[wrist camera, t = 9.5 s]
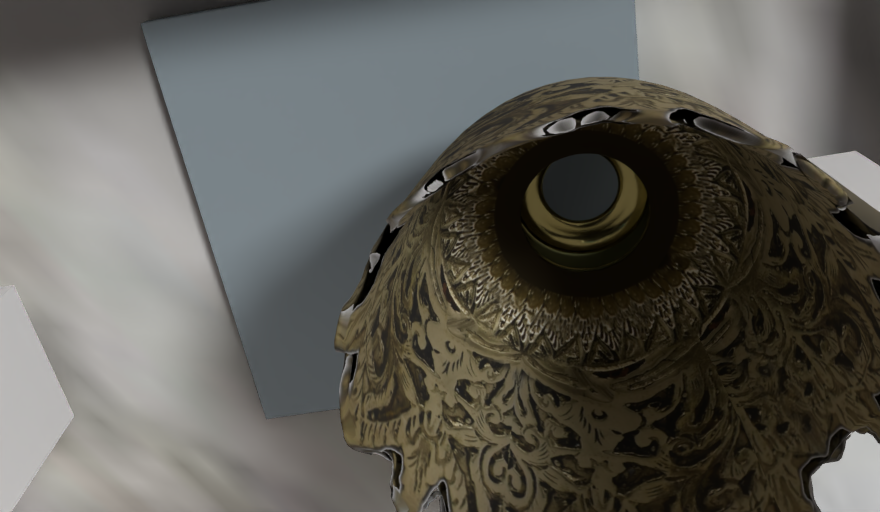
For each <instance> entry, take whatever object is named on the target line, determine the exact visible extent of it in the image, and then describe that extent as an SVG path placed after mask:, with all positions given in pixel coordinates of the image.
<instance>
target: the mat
mask: <svg viewBox="0 0 880 512" xmlns="http://www.w3.org/2000/svg"><path fill="white" fill-rule="evenodd" d="M141 27H142V30H143V34H144V37H145V40H146V43H147V46H148V49H149V52H150V56H151V59H152V62H153V65H154V68H155V71H156V74H157V77H158V81H159V84H160V87H161V90H162V93H163V96H164V99H165V103H166V106H167V109H168V112H169V115H170V118H171V121H172V125H173V128H174V131H175V134H176V137H177V140H178V143H179V147H180V150H181V153H182V156H183V159H184V162H185V165H186V169H187V172H188V175H189V178H190V181H191V184H192V187H193V191H194V194H195V197H196V200H197V203H198V206H199V209H200V213H201V216H202V219H203V222H204V225H205V228H206V231H207V234H208V238H209V241H210V244H211V247H212V250H213V253H214V256H215V260H216V263H217V266H218V269H219V272H220V275H221V278H222V282H223V285H224V288H225V291H226V294H227V297H228V300H229V304H230V307H231V310H232V313H233V316H234V319H235V322H236V326H237V329H238V332H239V335H240V338H241V341H242V344H243V348H244V351H245V354H246V357H247V360H248V363H249V366H250V370H251V373H252V376H253V379H254V382H255V385H256V388H257V391H258V395H259V398H260V401H261V404H262V407H263V410H264V413H265V417H266V419H271V418H278V417H285V416H292V415H299V414H305V413H312V412H319V411H326V410H333V409H340V406H339V387H340V380H341V375H342V370H343V364H344V355H345V353H341V352H336V351H335V349H334V339H335V334H336V329H337V324H338V319H339V315H340V312H341V309H342V307H343V305H344V304H345V303H346V302H347V301H348V299H349V298H350V297H351V296H352V294H353V292H354V291H355V289H356V287H357V285H358V283H359V282H360V280H361V277H362V275H363V272H364V269H365V266H366V264H367V262H368V259H369V255H370V251H371V249H372V247H373V245H374V244H375V242H376V241H377V240H378V238H379V237H380V235H381V234H382V232H383V230H384V229H385V227H386V225H387V224H388V223H387V222H386V219H387V218H388V217H389V215H390V214H391V213H392V212H393V211H394V210H395V209H396V208H397V207H398V206H399V205H400V204H401V203H402V202H403V201H404V200H405V199H406V198H407V197H408V195H409V194H410V193H411V191H412V190H413V189H414V188H415V186H416V185H417V184H418V182H419V181H420V180H421V179H422V177H423V176H424V175H425V174H426V172H427V171H428V170H429V169H430V167H431V166H432V165H433V164H434V162H435V161H436V160H437V159H438V157H439V156H440V155H441V154H442V153H443V152H444V151H445V150H446V149H447V148H448V147H449V146H450V145H451V144H452V143H453V142H454V141H455V140H456V139H457V138H458V137H459V136H460V135H461V134H462V133H463V132H464V131H465V130H466V129H467V128H468V127H470V126H471V125H472V124H473V123H475V122H476V121H477V120H478V119H480V118H481V117H482V116H484V115H485V114H486V113H488V112H490V111H491V110H493V109H494V108H496V107H498V106H499V105H501V104H502V103H504V102H506V101H508V100H510V99H512V98H514V97H516V96H518V95H520V94H522V93H524V92H527V91H530V90H532V89H535V88H538V87H541V86H544V85H547V84H551V83H556V82H560V81H564V80H570V79H578V78H586V77H618V78H628V79H636V80H639V69H638V52H637V34H636V17H635V0H262V1H256V2H251V3H245V4H239V5H234V6H228V7H222V8H217V9H211V10H206V11H200V12H194V13H189V14H183V15H177V16H172V17H166V18H160V19H155V20H149V21H146V22H143V23H141ZM617 190H618V179H617V175H616V172H615V170H614V168H613V166H612V165H611V164H610V163H609V162H608V161H607V160H606V159H605V158H604V157H602V156H601V155H599V154H577V155H572V156H568V157H565V158H562V159H560V160H557V161H555V162H553V163H552V164H551V165H550V167H549V168H548V170H547V172H546V174H545V176H544V180H543V194H544V197H545V200H546V202H547V204H548V205H549V207H550V208H551V209H552V210H553V211H554V212H556V213H557V214H558V215H560V216H562V217H564V218H567V219H571V220H587V219H591V218H594V217H596V216H598V215H600V214H602V213H603V212H604V211H606V210H607V209H608V208H609V207H610V205H611V204H612V203H613V201H614V199H615V197H616V194H617Z"/></svg>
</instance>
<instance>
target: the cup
mask: <svg viewBox="0 0 880 512" xmlns="http://www.w3.org/2000/svg"><path fill="white" fill-rule="evenodd" d="M792 150H793V149H792V148H791V147H789V146H787V145H785V144H783V143H780V142H778V141H776V140H773V139H770V138H768V137H766V136H764V135H762V134H761V133H759V132H758V131H756V130H754V129H753V128H751V127H750V126H748V125H746V124H745V123H743V122H741V121H739V120H738V119H736V118H734V117H732V116H731V115H729V114H727V113H725V112H723V111H722V110H720V109H718V108H716V107H714V106H712V105H710V104H708V103H706V102H704V101H701V100H699V99H697V98H695V97H693V96H691V95H688V94H686V93H684V92H681V91H678V90H675V89H672V88H669V87H666V86H663V85H659V84H654V83H650V82H645V81H640V80H636V79H628V78H618V77H586V78H578V79H570V80H564V81H560V82H556V83H551V84H547V85H544V86H541V87H538V88H535V89H532V90H530V91H527V92H524V93H522V94H520V95H518V96H516V97H514V98H512V99H510V100H508V101H506V102H504V103H502V104H501V105H499V106H498V107H496V108H494V109H493V110H491V111H490V112H488V113H486V114H485V115H484V116H482V117H481V118H480V119H478V120H477V121H476V122H475V123H473V124H472V125H471V126H470V127H468V128H467V129H466V130H465V131H464V132H463V133H462V134H461V135H460V136H459V137H458V138H457V139H456V140H455V141H454V142H453V143H452V144H451V145H450V146H449V147H448V148H447V149H446V150H445V151H444V152H443V153H442V154H441V155H440V156H439V157H438V159H437V160H436V161H435V162H434V164H433V165H432V166H431V167H430V169H429V170H428V171H427V172H426V174H425V175H424V176H423V177H422V179H421V180H420V181H419V182H418V184H417V185H416V186H415V188H414V189H413V190H412V191H411V193H410V194H409V195H408V197H407V198H406V199H405V200H404V201H403V202H402V203H401V204H400V205H399V206H398V207H397V208H396V209H395V210H394V211H393V212H392V213H391V214H390V215H389V217H388V218H387V219H386V222H387V223H388V224H387V225H386V227H385V229H384V230H383V232H382V234H381V235H380V237H379V238H378V240H377V241H376V242H375V244H374V245H373V247H372V249H371V251H370V255H369V259H368V262H367V264H366V266H365V269H364V272H363V275H362V277H361V280H360V282H359V283H358V285H357V287H356V289H355V291H354V292H353V294H352V296H351V297H350V298H349V299H348V301H347V302H346V303H345V304H344V305H343V307H342V309H341V312H340V315H339V319H338V324H337V329H336V334H335V339H334V349H335V351H336V352H341V353H345V355H344V364H343V370H342V375H341V380H340V387H339V406H340V418H341V424H342V429H343V433H344V439H345V441H346V443H347V445H348V446H349V447H351V448H352V449H354V450H356V451H359V452H363V453H367V454H370V455H372V454H378V455H381V456H382V457H384V458H385V459H387V460H389V461H392V474H391V480H390V488H391V498H392V501H393V503H394V505H395V507H396V512H422V511H423V510H425V509H427V508H428V505H429V503H430V502H431V501H433V500H434V499H435V498H436V496H439V501H440V511H441V512H821V511H820V509H819V507H818V506H817V504H816V502H815V500H814V496H813V487H812V481H811V476H812V475H813V474H814V473H815V472H816V471H817V470H818V469H819V468H820V466H821V465H822V464H825V463H829V462H836V461H839V460H840V459H841V458H842V455H843V452H844V450H845V444H846V440H847V439H849V437H850V436H851V434H852V433H853V432H854V431H856V432H858V433H860V434H865V433H866V432H868V433H869V434H871V435H873V436H874V438H875V439H876V440H877V442H878V443H879V444H880V232H878V231H876V230H875V229H873V228H871V227H869V226H868V225H867V224H865V223H864V222H863V221H862V220H861V219H860V218H859V217H857V216H856V215H855V214H854V213H853V212H852V211H850V210H849V209H848V208H847V206H848V205H851V204H853V203H854V202H853V201H852V200H851V199H850V198H849V197H848V196H847V193H846V192H845V190H844V189H843V188H842V187H841V186H840V185H839V184H838V183H837V182H836V181H834V180H833V179H832V178H831V177H830V176H828V175H827V174H825V173H824V172H823V171H821V170H820V169H818V168H817V167H816V166H815V165H813V164H812V163H811V162H810V161H808V160H807V159H806V158H805V157H803V156H802V155H801V154H798V153H793V152H792ZM577 154H599V155H601V156H602V157H604V158H605V159H606V160H607V161H608V162H609V163H610V164H611V165H612V166H613V168H614V170H615V172H616V175H617V179H618V190H617V194H616V197H615V199H614V201H613V203H612V204H611V205H610V207H609V208H608V209H607V210H606V211H604V212H603V213H602V214H600V215H598V216H596V217H594V218H591V219H587V220H571V219H567V218H564V217H562V216H560V215H558V214H557V213H556V212H554V211H553V210H552V209H551V208H550V207H549V205H548V204H547V202H546V200H545V197H544V194H543V180H544V176H545V174H546V172H547V170H548V168H549V167H550V165H551V164H552V163H553V162H555V161H557V160H560V159H562V158H565V157H568V156H572V155H577ZM851 432H852V433H851ZM850 433H851V434H850ZM849 434H850V435H849ZM848 435H849V436H848ZM847 436H848V437H847ZM846 437H847V438H846ZM436 487H437V489H438V491H435V492H433V490H434V489H435V488H436ZM432 492H433V493H432ZM431 493H432V494H431Z"/></svg>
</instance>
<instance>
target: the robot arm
mask: <svg viewBox="0 0 880 512" xmlns="http://www.w3.org/2000/svg"><path fill="white" fill-rule="evenodd" d="M807 160H808V161H810V162H811V163H812V164H813V165H815V166H816V167H817V168H818V169H820V170H821V171H823V172H824V173H825V174H827V175H828V176H830V177H831V178H832V179H833V180H834V181H836V182H837V183H838V184H839V185H840V186H841V187H842V188H843V189H844V190H845V192H846V193H847V196H848V197H849V198H850V199H851V200H852V201H853V202H854V203H853V204H851V205H848V206H847V208H848V209H849V210H850V211H852V212H853V213H854V214H855V215H856V216H857V217H859V218H860V219H861V220H862V221H863V222H864V223H865V224H867V225H868V226H869V227H871V228H873V229H875V230H876V231H878V232H880V166H879V165H878V164H876V163H874V162H873V161H871V160H870V159H868V158H866V157H865V156H863V155H862V154H860V153H859V152H857V151H851V152H845V153H838V154H832V155H826V156H820V157H813V158H807ZM73 417H74V414H73V412H72V410H71V408H70V405H69V403H68V401H67V399H66V397H65V395H64V392H63V390H62V388H61V386H60V384H59V382H58V379H57V377H56V375H55V373H54V371H53V369H52V366H51V364H50V362H49V360H48V358H47V356H46V353H45V351H44V349H43V347H42V345H41V342H40V340H39V338H38V336H37V334H36V332H35V329H34V327H33V325H32V323H31V321H30V319H29V316H28V314H27V312H26V310H25V308H24V306H23V303H22V301H21V299H20V297H19V295H18V293H17V290H16V288H15V286H14V285H10V286H4V287H0V512H12V510H13V509H14V507H15V506H16V504H17V502H18V501H19V499H20V498H21V496H22V495H23V493H24V492H25V490H26V489H27V487H28V486H29V484H30V483H31V481H32V480H33V478H34V477H35V475H36V474H37V472H38V470H39V469H40V467H41V466H42V464H43V463H44V461H45V460H46V458H47V457H48V455H49V454H50V452H51V451H52V449H53V448H54V446H55V445H56V443H57V442H58V440H59V439H60V437H61V435H62V434H63V432H64V431H65V429H66V428H67V426H68V425H69V423H70V422H71V420H72V419H73Z"/></svg>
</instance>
